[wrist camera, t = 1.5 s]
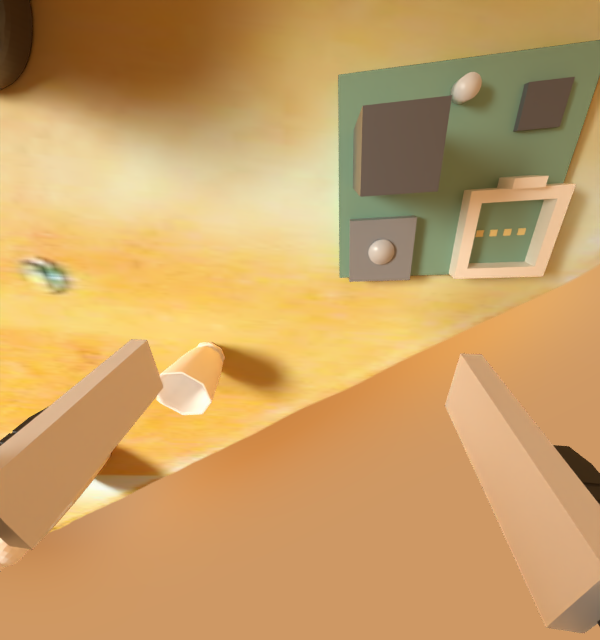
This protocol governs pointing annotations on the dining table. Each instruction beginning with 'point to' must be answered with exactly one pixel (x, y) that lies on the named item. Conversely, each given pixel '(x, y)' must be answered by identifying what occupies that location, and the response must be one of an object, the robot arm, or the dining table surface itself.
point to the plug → (400, 146)
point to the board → (475, 143)
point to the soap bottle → (9, 555)
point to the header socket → (541, 240)
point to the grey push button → (381, 248)
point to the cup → (192, 379)
